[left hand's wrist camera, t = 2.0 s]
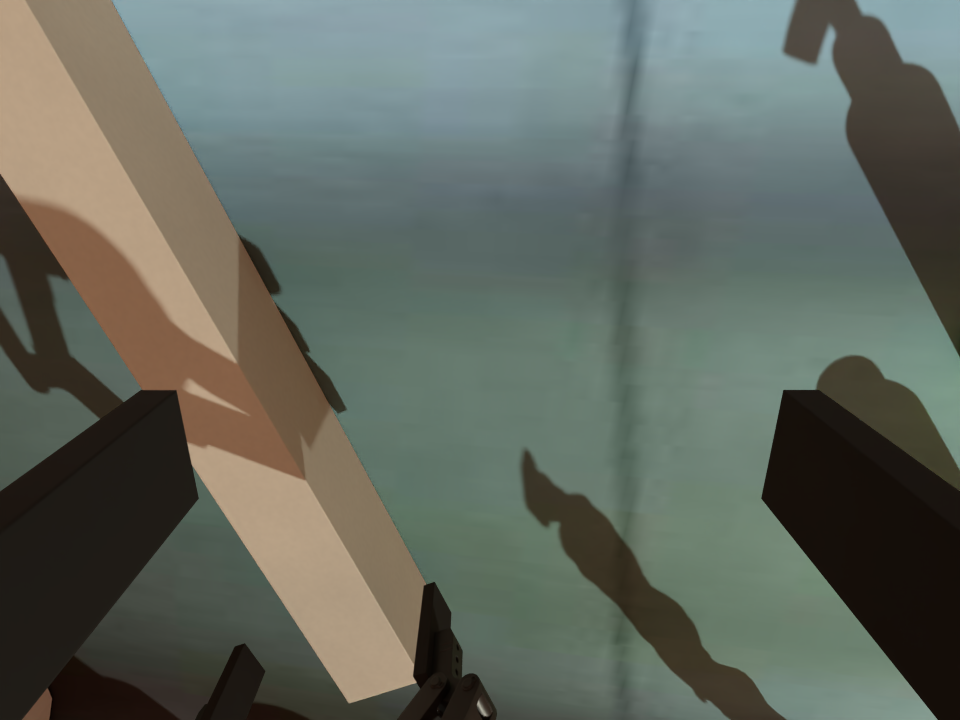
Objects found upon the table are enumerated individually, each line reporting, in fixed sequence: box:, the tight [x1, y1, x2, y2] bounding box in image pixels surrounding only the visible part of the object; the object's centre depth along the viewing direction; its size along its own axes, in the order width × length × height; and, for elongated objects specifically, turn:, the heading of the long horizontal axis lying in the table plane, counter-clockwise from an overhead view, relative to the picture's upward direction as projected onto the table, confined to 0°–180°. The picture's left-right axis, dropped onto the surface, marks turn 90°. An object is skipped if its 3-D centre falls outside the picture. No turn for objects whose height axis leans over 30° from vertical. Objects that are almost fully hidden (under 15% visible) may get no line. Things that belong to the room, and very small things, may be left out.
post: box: [0, 0, 426, 703], centre depth 32 cm, size 76×6×8 cm, turn 22°
